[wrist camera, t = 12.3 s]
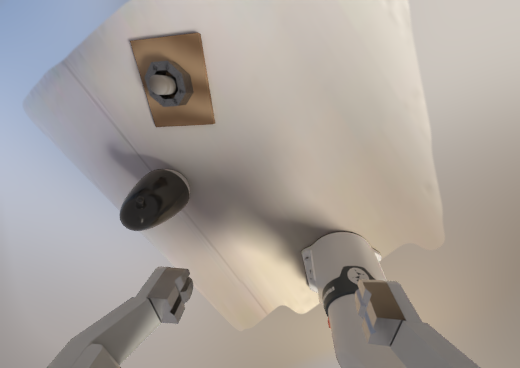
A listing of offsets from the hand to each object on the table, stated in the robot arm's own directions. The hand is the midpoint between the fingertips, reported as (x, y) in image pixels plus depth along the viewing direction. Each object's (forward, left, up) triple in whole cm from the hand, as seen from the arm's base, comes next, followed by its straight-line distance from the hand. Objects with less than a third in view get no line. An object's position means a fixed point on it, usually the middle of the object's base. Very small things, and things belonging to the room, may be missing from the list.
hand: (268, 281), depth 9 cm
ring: (+10, +19, -30) cm, 37 cm away
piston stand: (+10, +19, -31) cm, 38 cm away
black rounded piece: (-10, +25, -31) cm, 41 cm away
